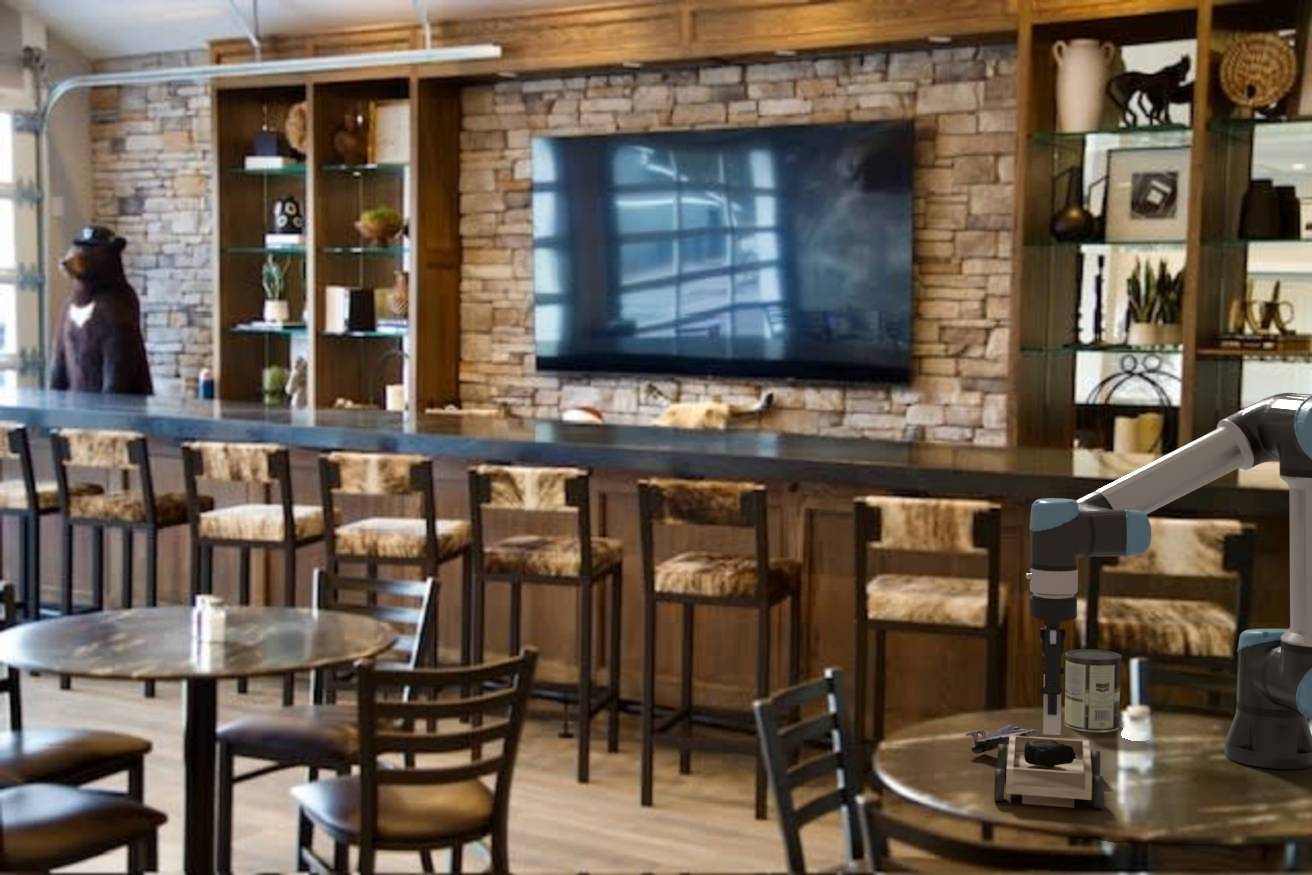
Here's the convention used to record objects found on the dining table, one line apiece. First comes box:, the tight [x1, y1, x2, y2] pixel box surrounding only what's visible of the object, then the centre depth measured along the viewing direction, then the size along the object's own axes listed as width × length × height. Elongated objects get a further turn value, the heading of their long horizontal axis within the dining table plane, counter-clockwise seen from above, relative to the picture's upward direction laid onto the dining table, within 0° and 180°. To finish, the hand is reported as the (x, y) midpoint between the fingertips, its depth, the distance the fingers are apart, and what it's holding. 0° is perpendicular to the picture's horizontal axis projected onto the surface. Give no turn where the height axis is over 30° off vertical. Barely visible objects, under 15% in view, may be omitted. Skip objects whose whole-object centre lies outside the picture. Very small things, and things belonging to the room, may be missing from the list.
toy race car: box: [965, 724, 1040, 755], centre depth 282 cm, size 13×6×4 cm, turn 42°
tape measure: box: [1024, 740, 1076, 768], centre depth 265 cm, size 7×7×4 cm
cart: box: [993, 735, 1105, 810], centre depth 264 cm, size 22×17×6 cm
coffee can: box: [1064, 648, 1123, 733], centre depth 307 cm, size 10×10×14 cm
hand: (1051, 723), depth 264 cm, fingers open, 13 cm apart
